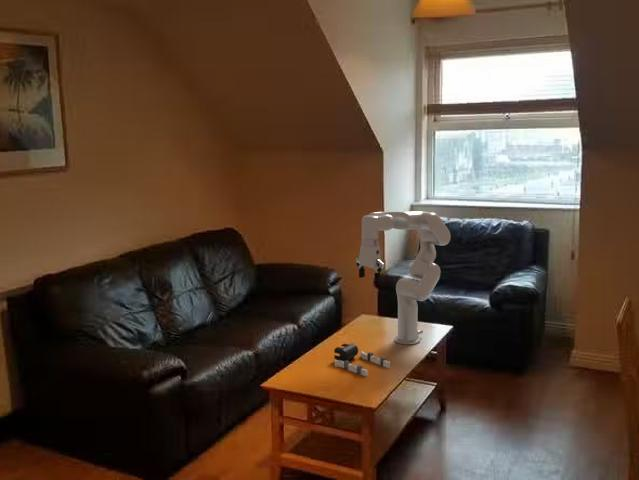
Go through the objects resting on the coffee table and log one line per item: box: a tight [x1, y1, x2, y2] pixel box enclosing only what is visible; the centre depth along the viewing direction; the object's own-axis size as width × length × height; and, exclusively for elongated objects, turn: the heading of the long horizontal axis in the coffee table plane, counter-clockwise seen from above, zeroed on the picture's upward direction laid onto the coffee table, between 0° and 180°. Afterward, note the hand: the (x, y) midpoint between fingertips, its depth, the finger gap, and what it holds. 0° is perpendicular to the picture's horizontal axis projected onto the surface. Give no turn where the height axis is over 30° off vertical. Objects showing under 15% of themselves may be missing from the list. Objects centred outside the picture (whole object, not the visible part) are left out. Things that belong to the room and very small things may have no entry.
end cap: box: [333, 343, 359, 361], centre depth 306 cm, size 10×7×7 cm
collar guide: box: [334, 350, 391, 377], centre depth 298 cm, size 18×19×4 cm
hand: (369, 279), depth 309 cm, fingers open, 9 cm apart
